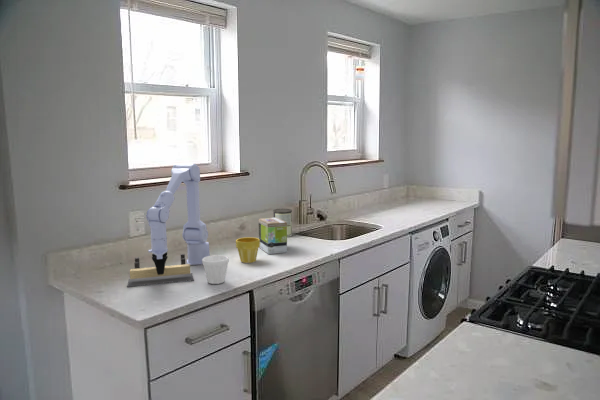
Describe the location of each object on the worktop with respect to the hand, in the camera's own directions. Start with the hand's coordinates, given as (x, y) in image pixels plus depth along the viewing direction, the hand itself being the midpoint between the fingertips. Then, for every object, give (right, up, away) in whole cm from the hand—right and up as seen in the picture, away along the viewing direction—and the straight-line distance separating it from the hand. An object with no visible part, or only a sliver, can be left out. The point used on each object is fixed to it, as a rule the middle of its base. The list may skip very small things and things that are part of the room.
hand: (160, 272), depth 178 cm
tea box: (+40, +4, +46) cm, 61 cm away
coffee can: (+44, +8, +78) cm, 90 cm away
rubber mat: (0, -3, 0) cm, 3 cm away
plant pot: (+31, +1, +26) cm, 40 cm away
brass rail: (0, -1, 0) cm, 1 cm away
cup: (+22, -3, -2) cm, 22 cm away
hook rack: (-3, -2, +11) cm, 11 cm away
